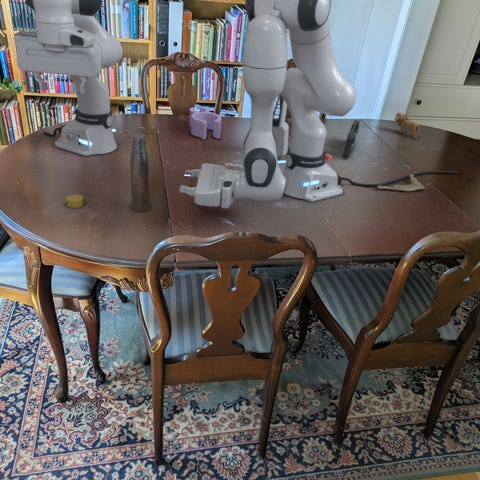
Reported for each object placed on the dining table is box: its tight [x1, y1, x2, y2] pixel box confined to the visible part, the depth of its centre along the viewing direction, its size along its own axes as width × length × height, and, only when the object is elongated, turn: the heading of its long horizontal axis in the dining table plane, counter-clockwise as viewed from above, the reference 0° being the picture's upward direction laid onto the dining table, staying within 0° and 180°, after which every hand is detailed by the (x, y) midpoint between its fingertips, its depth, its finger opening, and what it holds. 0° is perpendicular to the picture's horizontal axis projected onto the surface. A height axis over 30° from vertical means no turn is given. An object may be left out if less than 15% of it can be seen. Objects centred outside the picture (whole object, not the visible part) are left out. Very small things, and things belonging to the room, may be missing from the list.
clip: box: [188, 106, 222, 140], centre depth 199 cm, size 20×12×7 cm, turn 23°
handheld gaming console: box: [342, 119, 361, 159], centre depth 194 cm, size 23×3×10 cm, turn 161°
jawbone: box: [376, 173, 426, 193], centre depth 169 cm, size 9×20×2 cm, turn 126°
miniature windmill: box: [273, 57, 293, 126], centre depth 207 cm, size 9×8×30 cm
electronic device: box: [272, 96, 290, 160], centre depth 177 cm, size 12×8×30 cm, turn 71°
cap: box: [65, 194, 84, 209], centre depth 138 cm, size 5×5×2 cm
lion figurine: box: [394, 112, 422, 139], centre depth 219 cm, size 15×5×9 cm, turn 50°
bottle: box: [129, 133, 150, 212], centre depth 135 cm, size 5×5×22 cm
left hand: (62, 91), depth 121 cm, fingers open, 8 cm apart
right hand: (182, 180), depth 136 cm, fingers open, 8 cm apart
